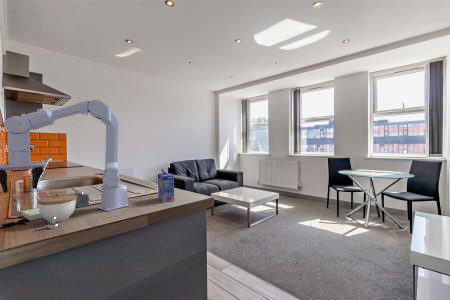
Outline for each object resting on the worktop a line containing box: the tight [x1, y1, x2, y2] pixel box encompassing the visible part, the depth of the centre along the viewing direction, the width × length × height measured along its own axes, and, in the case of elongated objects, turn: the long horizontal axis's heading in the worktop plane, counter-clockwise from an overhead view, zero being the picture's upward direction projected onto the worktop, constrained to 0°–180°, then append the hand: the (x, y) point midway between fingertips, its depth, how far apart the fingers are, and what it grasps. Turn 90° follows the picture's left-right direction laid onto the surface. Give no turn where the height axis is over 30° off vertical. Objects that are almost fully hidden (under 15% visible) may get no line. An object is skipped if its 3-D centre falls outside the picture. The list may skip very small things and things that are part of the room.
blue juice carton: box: [157, 169, 175, 203], centre depth 105 cm, size 10×6×14 cm, turn 31°
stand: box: [21, 207, 43, 221], centre depth 82 cm, size 7×10×2 cm
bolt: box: [46, 216, 60, 230], centre depth 70 cm, size 3×3×3 cm
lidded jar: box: [37, 192, 77, 223], centre depth 77 cm, size 11×11×9 cm
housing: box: [71, 191, 90, 209], centre depth 95 cm, size 4×8×6 cm, turn 55°
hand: (20, 190), depth 77 cm, fingers open, 7 cm apart
